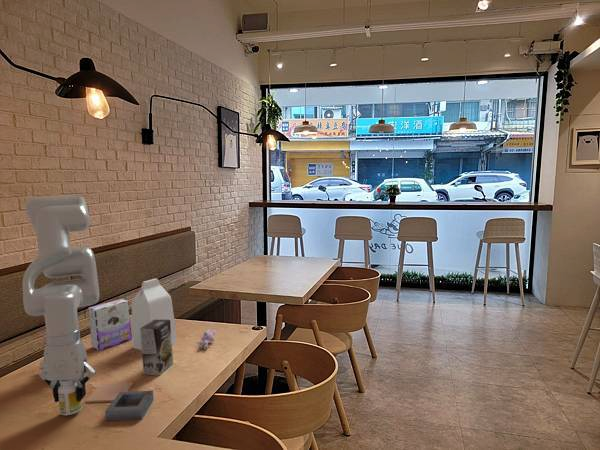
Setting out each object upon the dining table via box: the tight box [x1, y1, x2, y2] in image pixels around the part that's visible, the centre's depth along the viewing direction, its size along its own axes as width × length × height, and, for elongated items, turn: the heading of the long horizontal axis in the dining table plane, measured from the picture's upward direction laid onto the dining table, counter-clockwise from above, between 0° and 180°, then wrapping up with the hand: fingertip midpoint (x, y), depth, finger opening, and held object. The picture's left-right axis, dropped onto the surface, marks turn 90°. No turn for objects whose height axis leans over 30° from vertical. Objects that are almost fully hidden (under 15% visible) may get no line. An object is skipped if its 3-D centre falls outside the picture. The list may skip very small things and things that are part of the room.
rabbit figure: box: [197, 329, 217, 352], centre depth 161 cm, size 6×6×15 cm
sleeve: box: [104, 390, 154, 422], centre depth 116 cm, size 10×10×3 cm
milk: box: [131, 277, 178, 351], centre depth 160 cm, size 12×12×26 cm
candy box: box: [88, 298, 133, 352], centre depth 163 cm, size 14×6×16 cm, turn 141°
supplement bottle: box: [58, 380, 83, 416], centre depth 115 cm, size 5×5×10 cm
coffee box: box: [140, 320, 174, 376], centre depth 140 cm, size 9×6×16 cm
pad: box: [85, 381, 134, 404], centre depth 126 cm, size 10×10×1 cm
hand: (70, 398), depth 115 cm, fingers closed on supplement bottle, 5 cm apart
